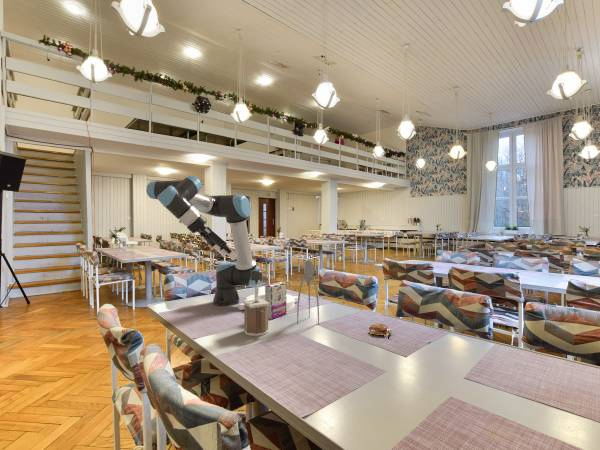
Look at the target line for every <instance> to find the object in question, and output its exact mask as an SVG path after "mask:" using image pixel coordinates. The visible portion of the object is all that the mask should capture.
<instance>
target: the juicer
mask: <svg viewBox="0 0 600 450" xmlns="http://www.w3.org/2000/svg"><path fill="white" fill-rule="evenodd" d="M303 268H304V269H303V271H304V276H301V280H300V285H299V290H298V295H297V297H298V302H297V308H296V315H297V316H296V323H297V324H299V311H300V299H301V291H302V288H303V285H304V281H305V282H306V286H307V288H308V289H307V290H308V294H307V295H308V318H309V319H310V316H311V315H310V314H311V285H312V284H311V283H312V281H313V286H314V289H315V297H316V306H317V324H320V305H319V304H320V302H319V293H318V286H317V282H316V277H315V276H313V274H314V273H313V272H314V262H313V261H312V260H311V259H309V258H308V259H306V260H305V262H304V267H303Z"/></svg>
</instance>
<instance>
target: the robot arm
mask: <svg viewBox="0 0 600 450" xmlns="http://www.w3.org/2000/svg"><path fill="white" fill-rule="evenodd" d="M201 189H202V182H201V181H200V179H199V178H198V177H196V176H194V175H188V176H186V177H185V178H184V179H179V180H178V179H176V180H155V181H154V180H152V181H150V182H149V183H148V184H147V185H146V195H147V197H149V198H150V199H152V200H158V201H159V203H160V204H161V205H163V207H164V208H165V209H166V210H167V211H169V213H171V214H172V215H173V216H174V217H175V218H176V219H178V220H179V221H178V223H179V224H183V226H186V229H188V230H189V232H191V233H192V234H196V233H198V234H199V236H201V238H203V239H204V241H206V243H207V244H208V245H209V246H210V247H212V248H213V249H214V250H215V251H217V253H218V254H220V256H221V257H223V258H225V257H226V255H227V256H228V257H229V259H231V260H232V261H233V262H225V263H221V264H217V266H216V271H215V274H216V275H215V280H216V286H215V287H216V288H215V289H216V290H215V292H214V293H215V294H214V296H213V299H212V300H213V301H212V304H214V305H215V304H217V305H216V306H233V305H237V304H239V303H240V302H239V301H240V300H241V299H240V296H239V293H238V289H237V286H240V287H255V280H251V271H252V270H262V268H261V266H259V265H257V262H256V260H254V259H253V254H252V248H251V244H250V242H251V241H250V237H249V230H248V226H247V221H248V219H249V217H250V215H251V213H252V207H251V206H252V205H251V201H250V200H249V198H248V197H246V196H245V195H242V194H241V195H240V194H226V195H225V194H224V195H223V194H221V195H218V194H217V195H209V194H201V193H199V192H200V191H201ZM200 213H201V214H200ZM202 213H203V214H206V215H209V216H212V217H218V218H225V221H226V223H227V224H228V225H229V226H230V227H229V228H230V231H231V236H232V237H231V238H232V241H233V246H234V250H233V249H232V248H231V247H230V246H229V245H228V243H227V242H226V241H225V240H224V239H223V238H221V237H220V236H219V235H218V234H217V233H216V232H214V230H212V229H211V227H209V226H205V225H206V224H207V222H208V221H207V218H205V217H204V216H203V215H202ZM234 260H236V262H235V261H234ZM260 281H261V280H258V284H259V283H260ZM236 303H237V304H236ZM232 304H233V305H232Z"/></svg>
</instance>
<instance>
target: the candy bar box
mask: <svg viewBox="0 0 600 450" xmlns="http://www.w3.org/2000/svg"><path fill="white" fill-rule="evenodd" d="M264 293H265V301H267V302H269V303H270V305H269V306H268V320H274V319H277V318H280V317H282V316H286V315H287V311H286V294H287V282H282V281H279V282H275V283H270V284H266V285H264Z"/></svg>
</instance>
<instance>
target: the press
mask: <svg viewBox="0 0 600 450" xmlns="http://www.w3.org/2000/svg"><path fill="white" fill-rule="evenodd" d="M242 303H244V304H245V305H244V309H243V310H244V311H243V312H244V315H243V316H244V317H243V318H244V322H243V323H244V325H243V327H244V329H243V331H244V332H243V333H244V335H246V336H249V337H261V336H264V335H267V334H268V333H269V319H268V306H269V305H270V303H269V302H267V301H265V300H263V299H258V303H255V300H248V301H245V300H243V302H242Z"/></svg>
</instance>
